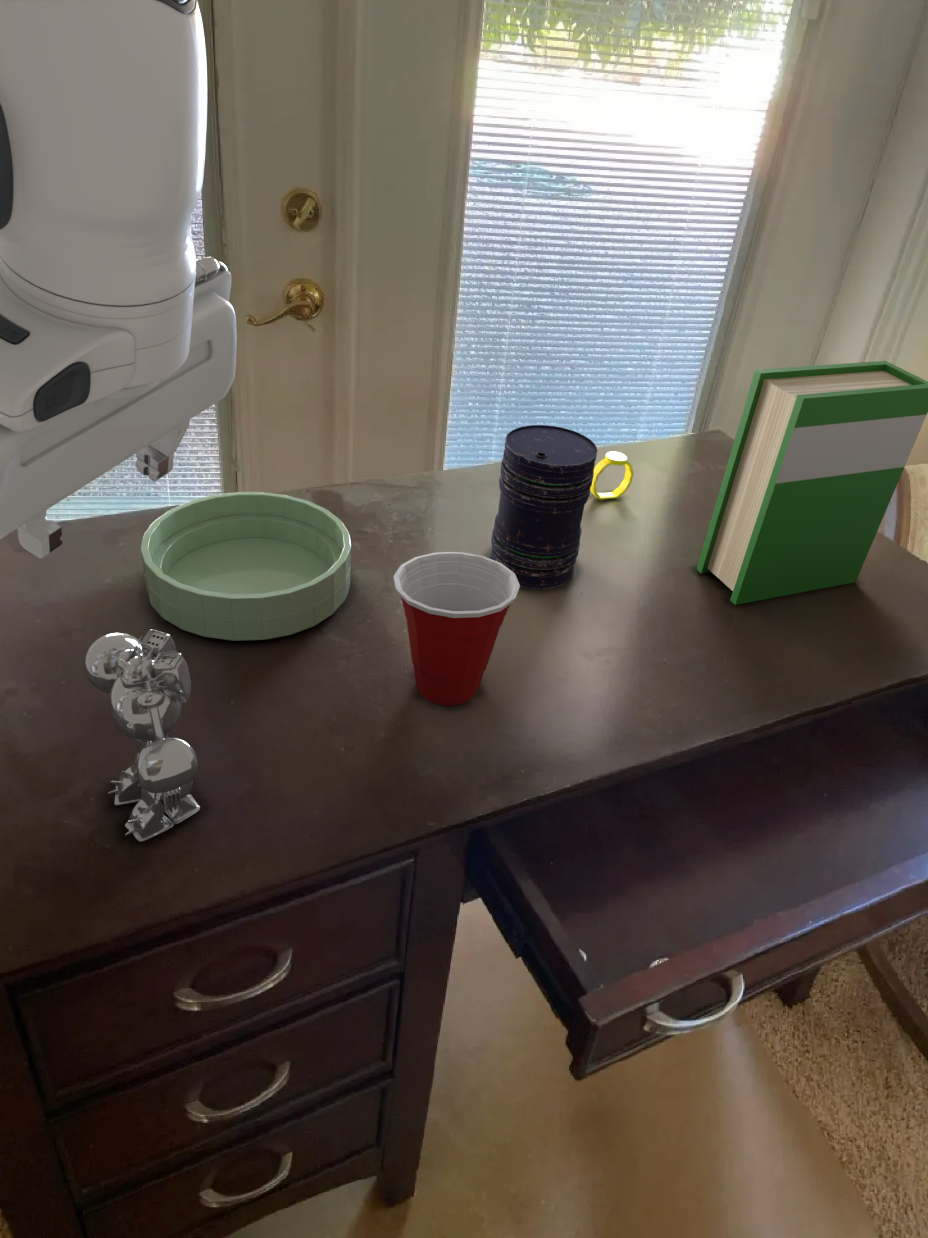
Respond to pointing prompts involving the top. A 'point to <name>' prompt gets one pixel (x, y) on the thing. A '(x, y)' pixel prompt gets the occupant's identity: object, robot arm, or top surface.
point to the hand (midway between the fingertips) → (100, 507)
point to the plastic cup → (453, 619)
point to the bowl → (246, 565)
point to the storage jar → (542, 503)
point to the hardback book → (811, 476)
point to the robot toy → (148, 725)
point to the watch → (609, 459)
